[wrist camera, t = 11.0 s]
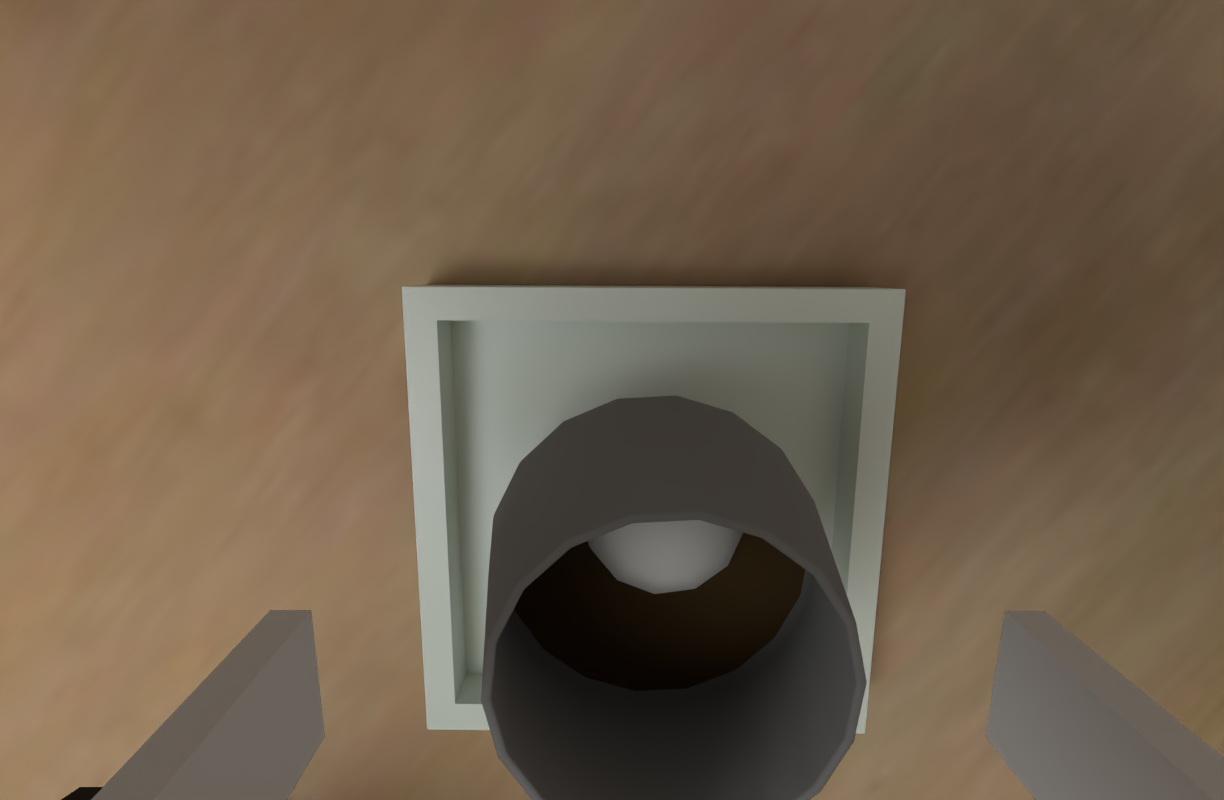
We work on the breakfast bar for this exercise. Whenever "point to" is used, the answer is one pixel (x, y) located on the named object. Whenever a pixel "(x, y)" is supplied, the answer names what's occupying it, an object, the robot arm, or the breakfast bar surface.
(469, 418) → the tray
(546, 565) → the cup
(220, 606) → the breakfast bar surface
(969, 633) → the breakfast bar surface
